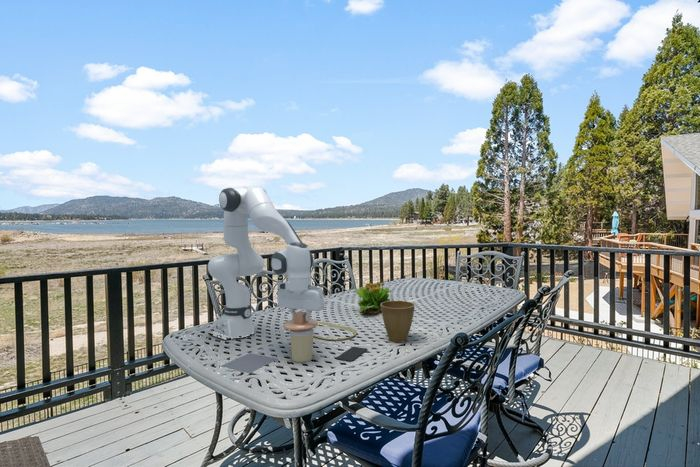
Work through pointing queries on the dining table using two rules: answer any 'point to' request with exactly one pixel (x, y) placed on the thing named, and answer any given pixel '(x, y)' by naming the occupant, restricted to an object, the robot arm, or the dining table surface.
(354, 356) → the phone
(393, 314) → the plant pot
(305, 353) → the coffee cup
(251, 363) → the mat
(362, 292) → the potted flower
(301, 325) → the lid
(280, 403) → the dining table surface
